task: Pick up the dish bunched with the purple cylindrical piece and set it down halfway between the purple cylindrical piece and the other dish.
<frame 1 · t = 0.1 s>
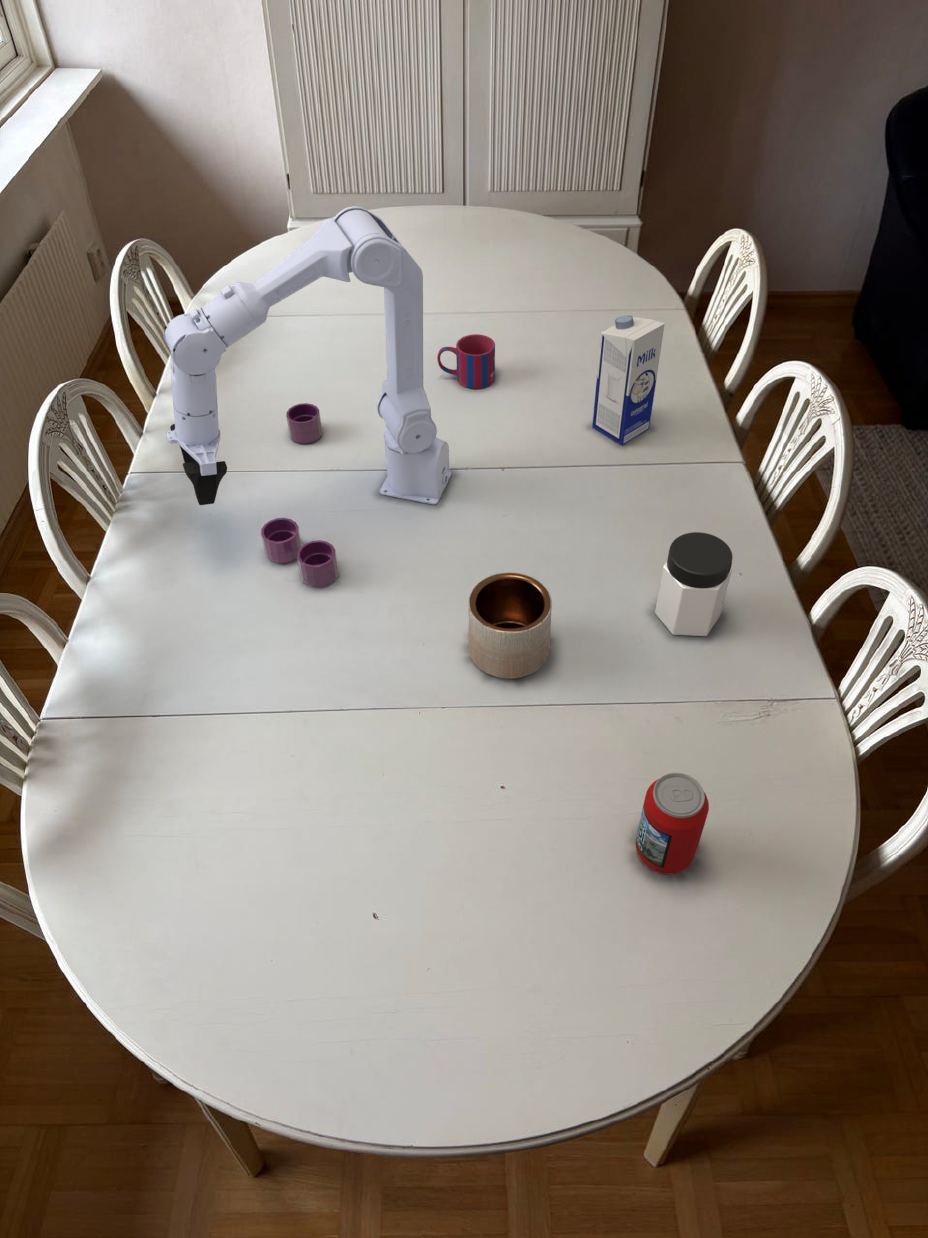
hand: (200, 486, 142), 10 cm above the table, tool pointing down, fingers open, 7 cm apart
planter: (508, 651, 135), on the table
purple cylindrical piece: (320, 575, 145), on the table
jar: (687, 616, 138), on the table
dish b: (306, 435, 167), on the table
milk carton: (620, 429, 167), on the table
mug: (466, 378, 177), on the table
dish c: (284, 552, 148), on the table
beverage can: (664, 851, 114), on the table
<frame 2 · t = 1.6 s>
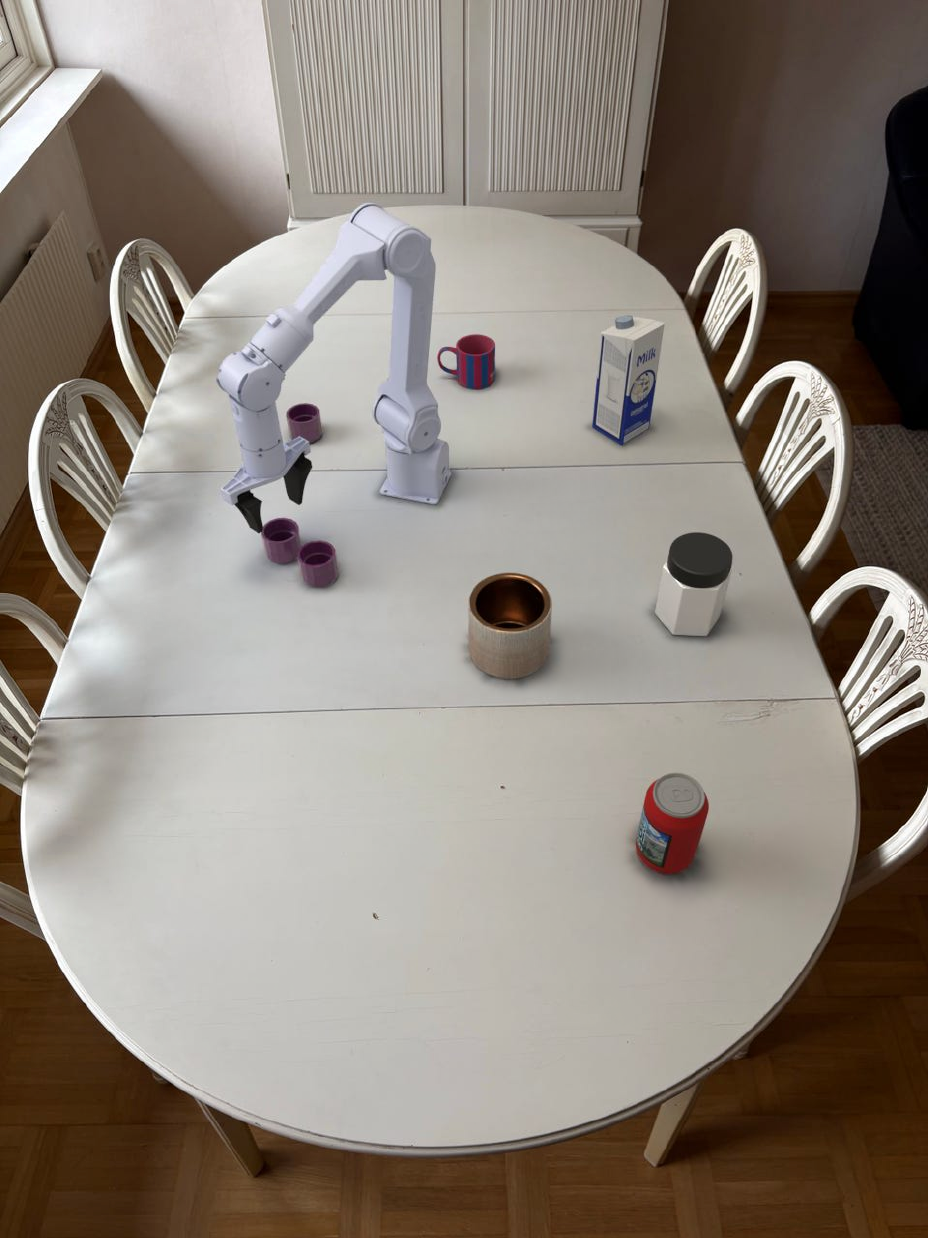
hand: (276, 515, 142), 7 cm above the table, tool pointing down, fingers open, 7 cm apart
nothing on the table moved.
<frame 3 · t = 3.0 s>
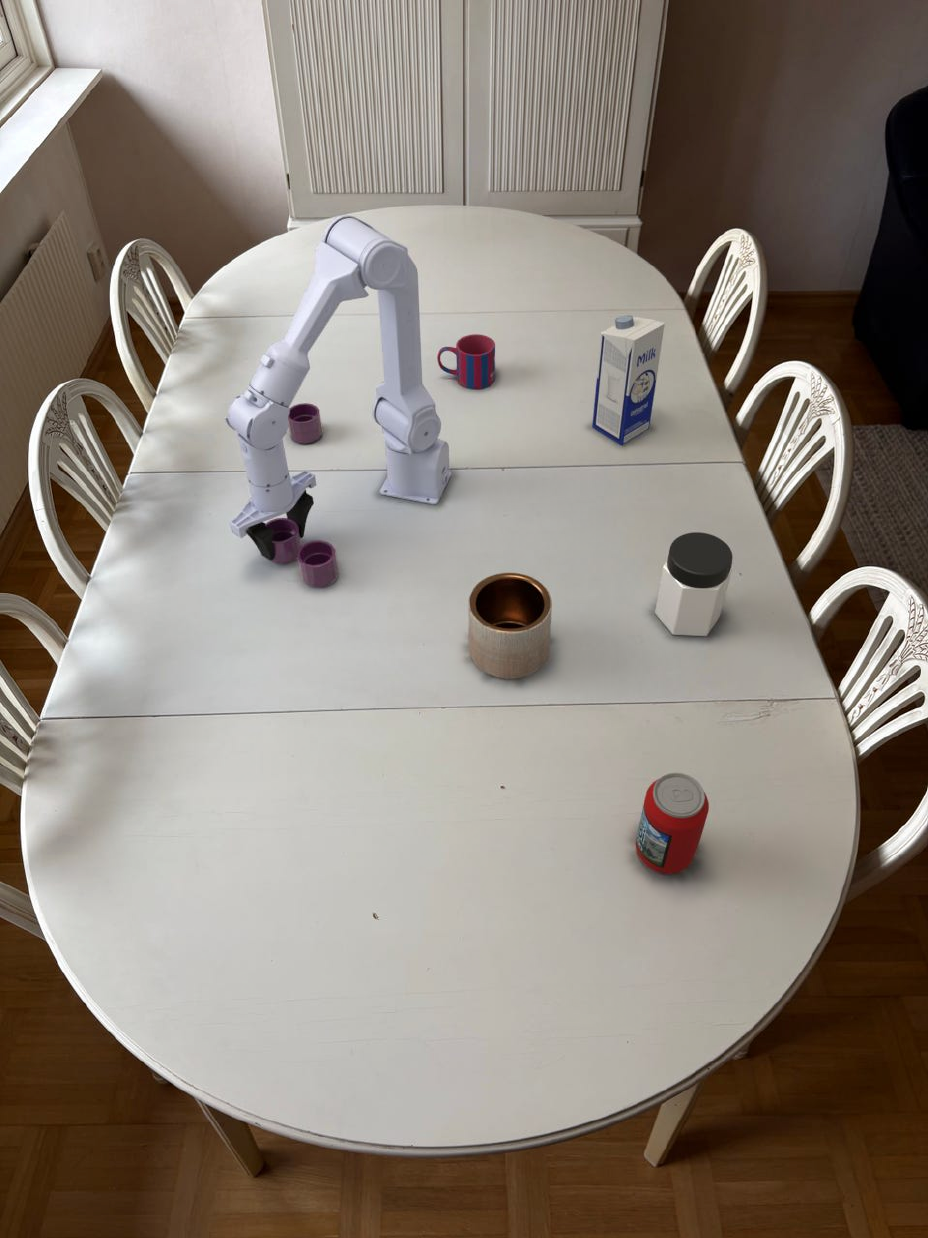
hand: (283, 545, 147), 1 cm above the table, tool pointing down, fingers closed on dish c, 5 cm apart
dish c: (284, 552, 148), on the table, touching gripper
everything else where it was.
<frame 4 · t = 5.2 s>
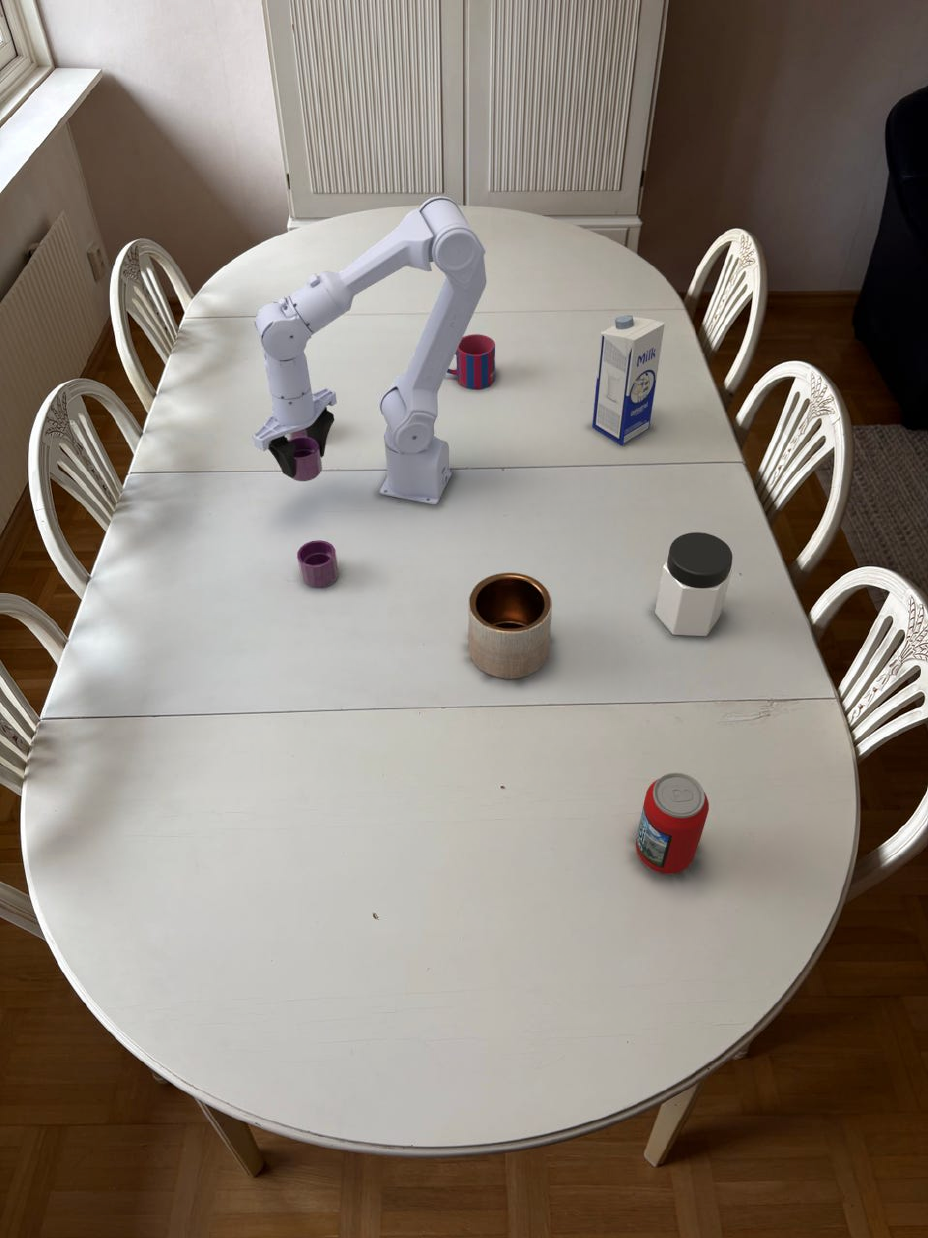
hand: (303, 463, 149), 8 cm above the table, tool pointing down, fingers closed on dish c, 5 cm apart
dish c: (304, 471, 150), point 7 cm above the table, touching gripper
everything else where it was.
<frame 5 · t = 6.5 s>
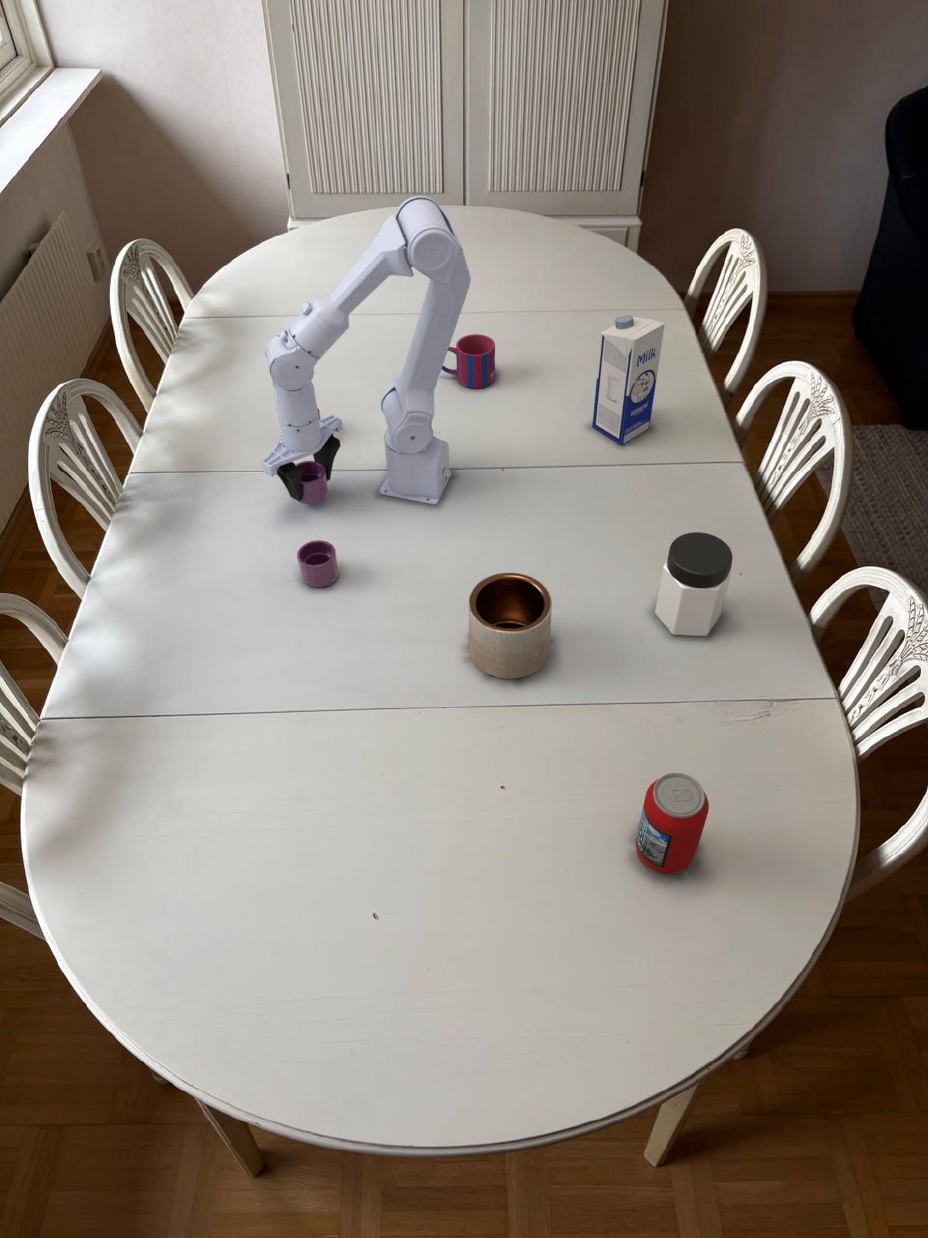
hand: (310, 487, 154), 3 cm above the table, tool pointing down, fingers closed on dish c, 5 cm apart
dish c: (311, 494, 155), point 1 cm above the table, touching gripper
everything else where it was.
when the fingers open (1 cm above the table, at t = 7.4 s): dish c stays where it is, on the table.
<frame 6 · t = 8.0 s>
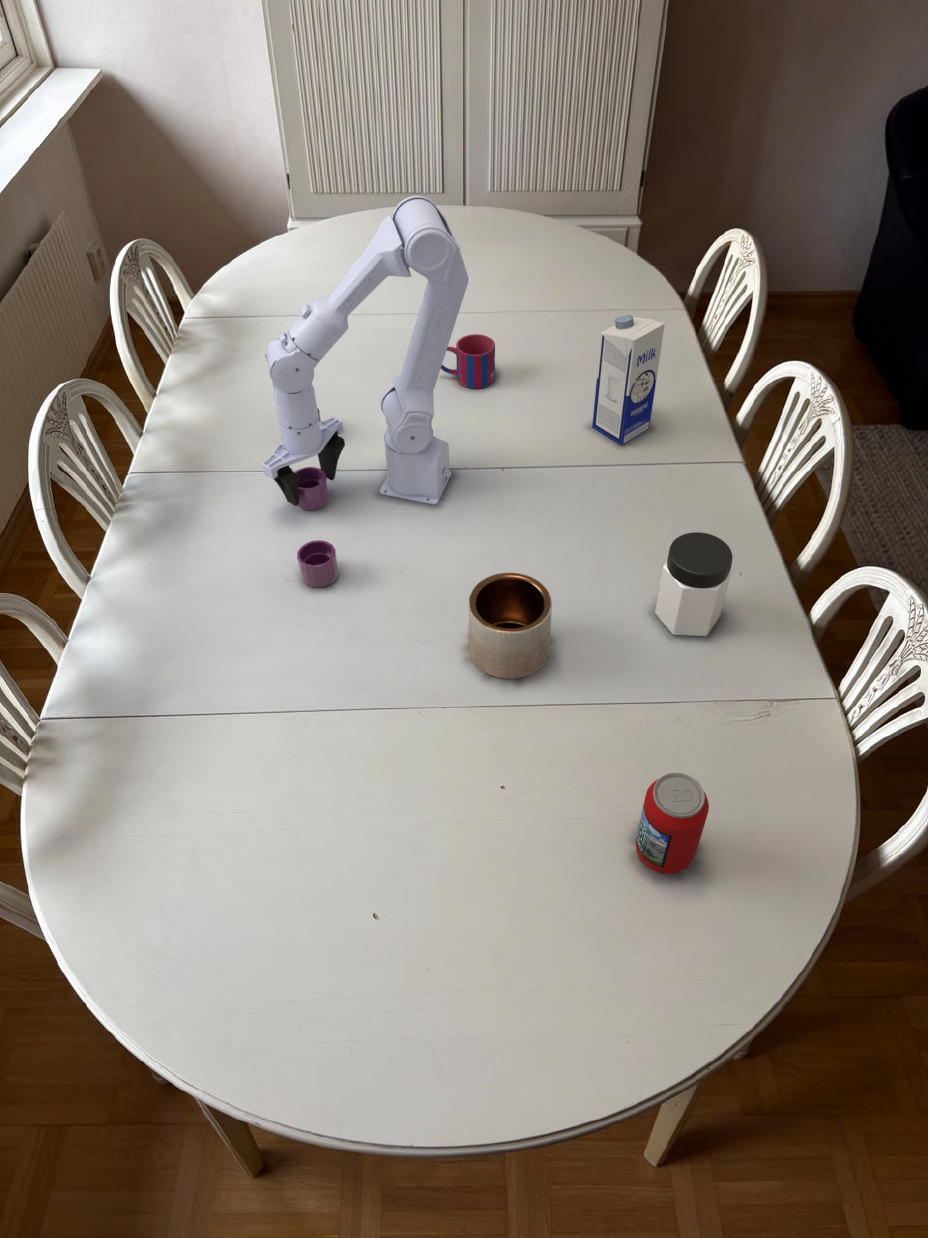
hand: (311, 489, 154), 2 cm above the table, tool pointing down, fingers open, 7 cm apart
dish c: (312, 500, 156), on the table
everything else where it was.
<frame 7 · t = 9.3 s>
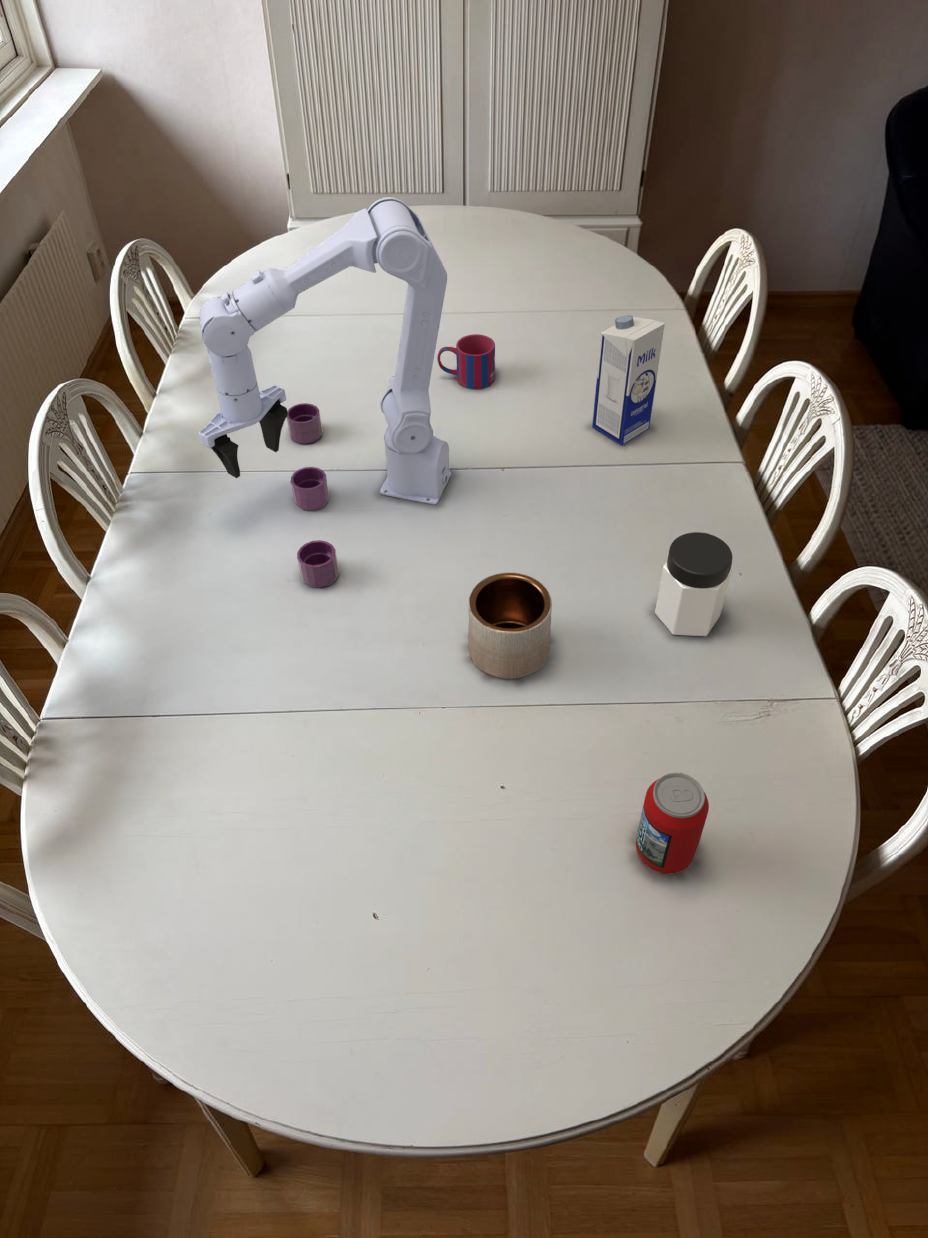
hand: (253, 461, 148), 9 cm above the table, tool pointing down, fingers open, 7 cm apart
nothing on the table moved.
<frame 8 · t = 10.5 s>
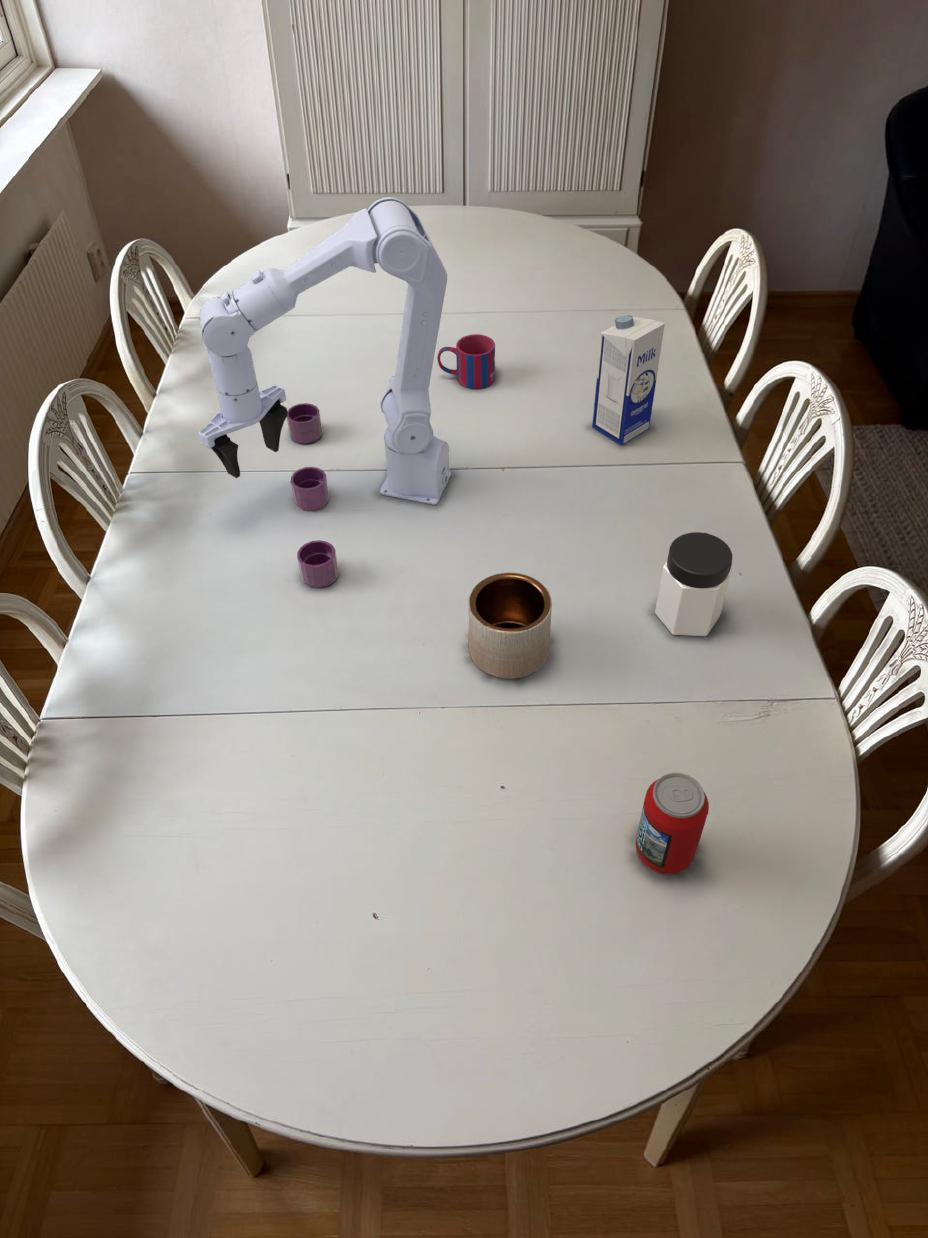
hand: (253, 461, 148), 9 cm above the table, tool pointing down, fingers open, 7 cm apart
nothing on the table moved.
at the end: dish c 0.1 cm from the target spot on the table beside the dish b, on the table; purple cylindrical piece moved 0.0 cm from its start; dish b moved 0.0 cm from its start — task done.
